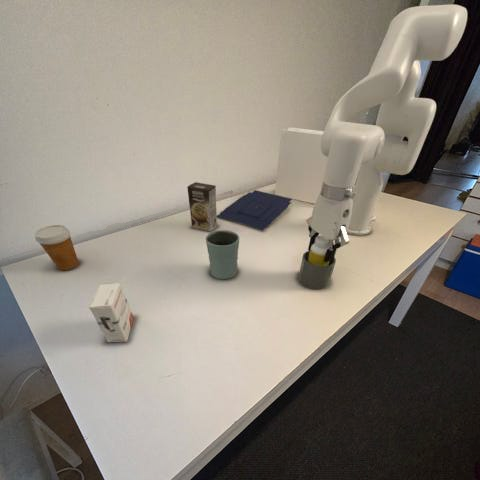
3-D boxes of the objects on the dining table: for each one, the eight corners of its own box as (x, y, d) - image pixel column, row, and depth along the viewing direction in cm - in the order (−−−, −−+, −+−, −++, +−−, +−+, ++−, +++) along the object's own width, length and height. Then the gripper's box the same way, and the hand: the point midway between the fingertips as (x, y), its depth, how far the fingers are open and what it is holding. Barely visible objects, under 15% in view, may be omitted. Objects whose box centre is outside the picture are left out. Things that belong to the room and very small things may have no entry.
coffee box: (191, 228, 108) (186, 186, 97) (198, 221, 113) (194, 181, 101) (211, 232, 106) (208, 190, 95) (217, 225, 110) (215, 184, 99)
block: (274, 194, 138) (281, 129, 118) (281, 190, 143) (289, 127, 123) (340, 209, 124) (360, 139, 105) (345, 204, 129) (365, 136, 110)
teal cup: (215, 283, 81) (213, 248, 73) (203, 267, 88) (200, 233, 79) (244, 275, 85) (245, 241, 76) (230, 260, 91) (230, 227, 83)
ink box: (115, 318, 70) (99, 282, 61) (134, 317, 70) (121, 281, 62) (106, 343, 63) (87, 307, 55) (127, 342, 64) (111, 306, 56)
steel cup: (314, 268, 88) (320, 247, 82) (335, 283, 82) (342, 261, 77) (292, 276, 85) (296, 254, 79) (311, 292, 79) (317, 270, 73)
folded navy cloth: (295, 205, 124) (296, 198, 121) (263, 236, 108) (263, 228, 106) (251, 194, 133) (251, 187, 130) (216, 222, 118) (215, 214, 115)
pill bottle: (326, 278, 79) (336, 245, 71) (305, 276, 80) (313, 243, 72) (325, 267, 83) (334, 234, 75) (306, 265, 84) (313, 232, 76)
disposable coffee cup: (90, 260, 90) (75, 227, 81) (68, 275, 83) (50, 240, 75) (68, 255, 92) (51, 222, 83) (45, 269, 85) (25, 235, 77)
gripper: (375, 200, 61) (351, 265, 73) (323, 178, 71) (310, 239, 84) (352, 206, 58) (331, 273, 71) (302, 183, 69) (292, 245, 81)
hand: (320, 254), depth 77 cm, fingers closed on pill bottle, 6 cm apart
